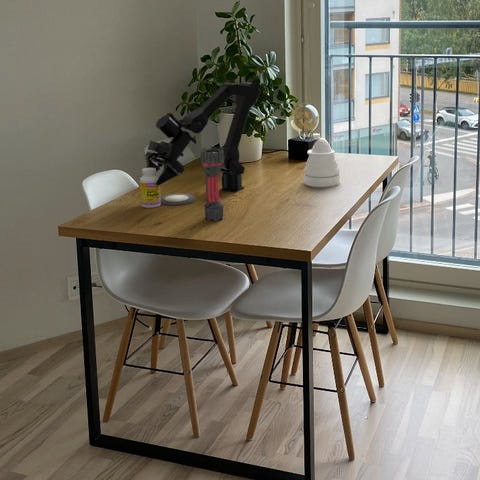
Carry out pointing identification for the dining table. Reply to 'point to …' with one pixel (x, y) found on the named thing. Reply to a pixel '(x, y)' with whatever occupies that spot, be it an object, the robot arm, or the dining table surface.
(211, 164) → the flashlight
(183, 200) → the dock pad
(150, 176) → the supplement bottle
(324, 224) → the dining table surface
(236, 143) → the robot arm
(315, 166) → the honey pot
